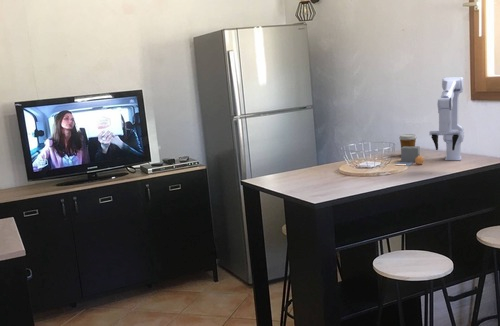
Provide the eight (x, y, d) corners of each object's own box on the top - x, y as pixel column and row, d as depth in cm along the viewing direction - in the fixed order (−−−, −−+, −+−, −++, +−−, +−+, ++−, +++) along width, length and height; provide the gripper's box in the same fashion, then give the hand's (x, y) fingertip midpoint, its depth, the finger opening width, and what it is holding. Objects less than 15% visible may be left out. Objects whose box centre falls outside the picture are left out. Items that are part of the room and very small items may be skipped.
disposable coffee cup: (395, 156, 307) (395, 135, 304) (408, 153, 311) (408, 133, 308) (407, 158, 298) (406, 137, 296) (420, 156, 302) (420, 135, 300)
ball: (416, 163, 284) (415, 155, 283) (424, 163, 282) (424, 155, 281) (414, 165, 280) (414, 156, 279) (423, 165, 278) (423, 157, 277)
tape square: (398, 162, 290) (397, 161, 290) (413, 162, 286) (413, 162, 286) (394, 165, 283) (394, 165, 283) (410, 165, 279) (410, 165, 279)
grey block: (403, 160, 294) (403, 146, 293) (419, 160, 291) (419, 146, 289) (401, 162, 289) (401, 148, 288) (417, 162, 285) (417, 148, 284)
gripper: (428, 123, 260) (428, 151, 263) (459, 123, 253) (459, 151, 256) (431, 121, 266) (431, 148, 269) (461, 121, 259) (461, 149, 262)
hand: (445, 149), depth 263 cm, fingers open, 7 cm apart
